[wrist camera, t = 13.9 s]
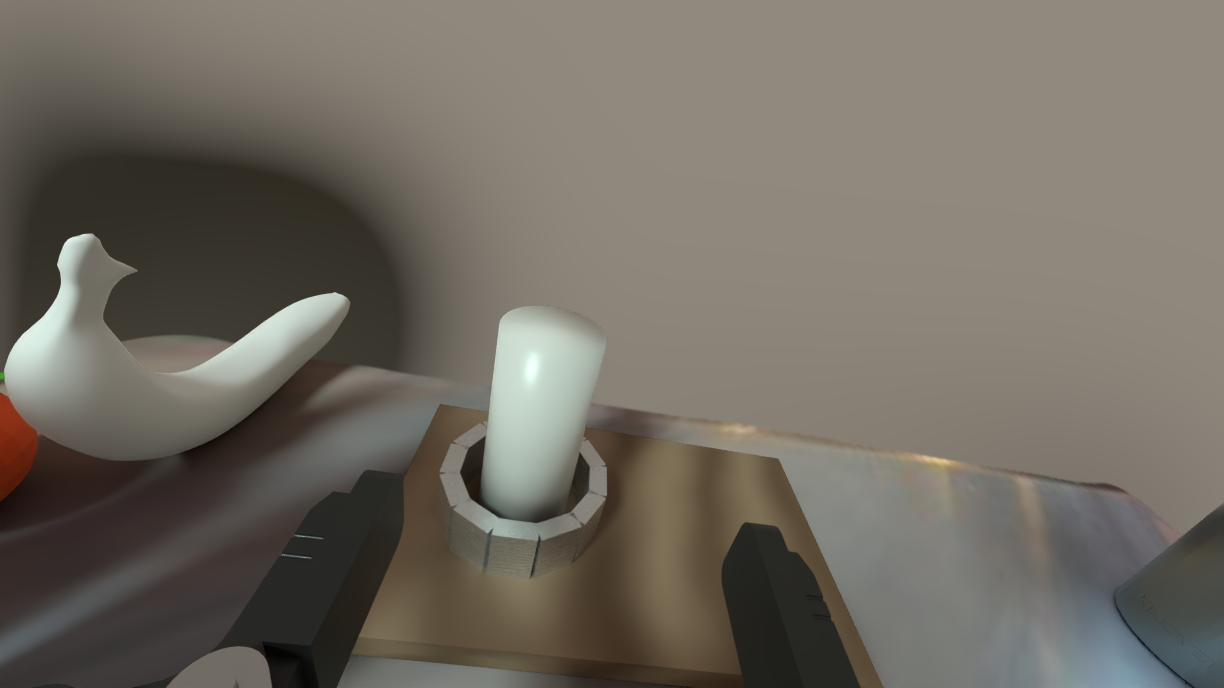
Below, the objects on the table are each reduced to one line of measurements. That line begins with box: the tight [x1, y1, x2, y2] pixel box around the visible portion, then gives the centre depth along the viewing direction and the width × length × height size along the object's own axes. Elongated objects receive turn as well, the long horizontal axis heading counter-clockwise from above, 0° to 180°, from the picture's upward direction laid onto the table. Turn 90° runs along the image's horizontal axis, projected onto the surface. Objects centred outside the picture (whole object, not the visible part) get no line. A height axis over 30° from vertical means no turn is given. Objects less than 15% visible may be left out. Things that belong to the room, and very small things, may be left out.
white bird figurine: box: [4, 234, 350, 461], centre depth 27 cm, size 5×19×15 cm, turn 176°
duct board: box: [351, 404, 883, 688], centre depth 29 cm, size 26×16×2 cm, turn 91°
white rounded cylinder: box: [478, 306, 607, 523], centre depth 25 cm, size 5×5×12 cm
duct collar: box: [437, 421, 607, 579], centre depth 27 cm, size 9×9×3 cm
